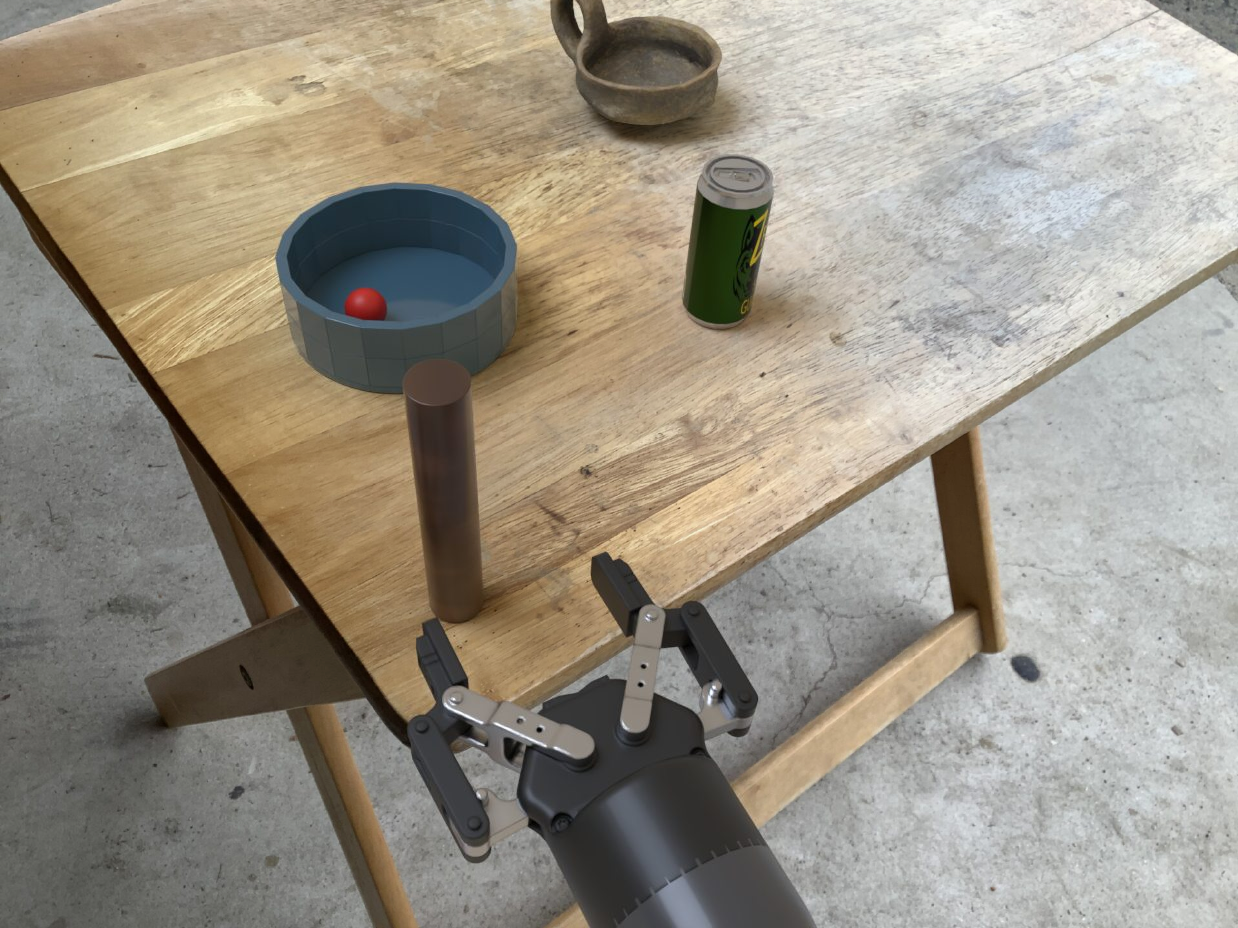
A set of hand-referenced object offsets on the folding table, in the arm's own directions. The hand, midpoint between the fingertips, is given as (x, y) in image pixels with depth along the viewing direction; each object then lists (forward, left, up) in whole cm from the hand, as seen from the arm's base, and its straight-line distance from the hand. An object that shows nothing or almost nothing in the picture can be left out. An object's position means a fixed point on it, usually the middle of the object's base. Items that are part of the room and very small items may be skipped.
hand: (515, 595), depth 51 cm
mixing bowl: (0, +35, -12) cm, 37 cm away
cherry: (-2, +34, -10) cm, 35 cm away
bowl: (+26, +60, -12) cm, 66 cm away
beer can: (+23, +30, -12) cm, 40 cm away
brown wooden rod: (-1, +9, -12) cm, 15 cm away
